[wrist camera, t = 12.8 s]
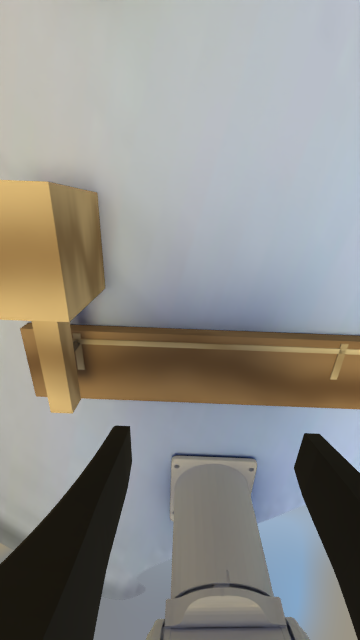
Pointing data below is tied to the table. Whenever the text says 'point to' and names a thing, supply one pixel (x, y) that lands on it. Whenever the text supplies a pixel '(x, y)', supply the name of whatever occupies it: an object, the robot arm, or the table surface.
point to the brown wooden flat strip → (210, 366)
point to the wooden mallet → (50, 272)
